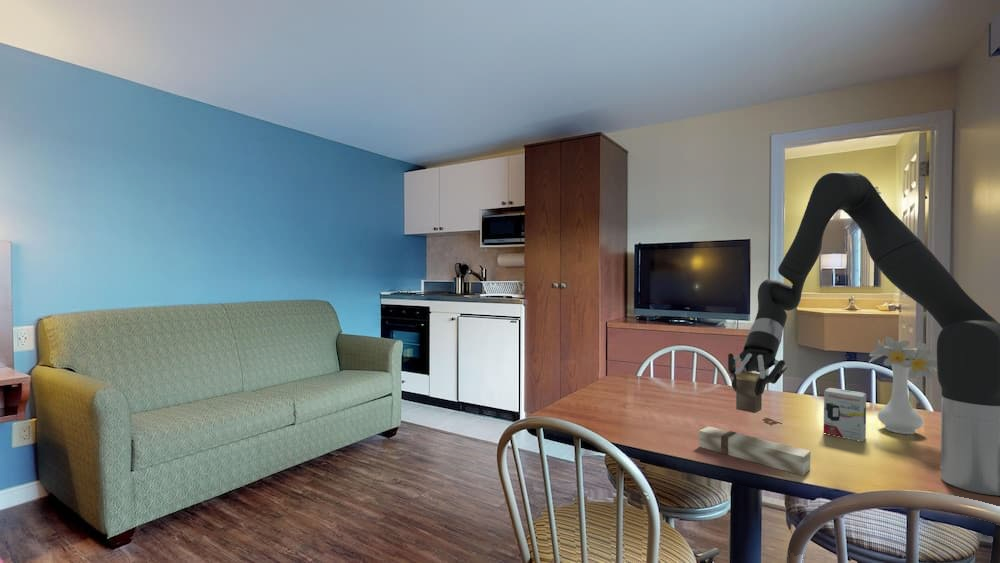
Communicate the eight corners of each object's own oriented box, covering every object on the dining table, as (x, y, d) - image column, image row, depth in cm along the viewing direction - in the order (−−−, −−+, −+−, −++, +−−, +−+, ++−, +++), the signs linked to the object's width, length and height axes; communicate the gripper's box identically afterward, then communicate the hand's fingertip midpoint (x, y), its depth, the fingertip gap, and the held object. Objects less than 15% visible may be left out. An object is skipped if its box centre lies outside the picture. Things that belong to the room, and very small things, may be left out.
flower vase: (904, 443, 114) (905, 344, 114) (854, 420, 133) (855, 335, 132) (960, 445, 113) (961, 345, 113) (902, 421, 131) (902, 335, 131)
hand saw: (713, 404, 151) (713, 402, 151) (725, 403, 152) (725, 401, 152) (770, 427, 128) (770, 424, 128) (784, 426, 129) (784, 423, 129)
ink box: (822, 434, 121) (822, 390, 121) (826, 429, 124) (826, 387, 124) (863, 442, 115) (863, 396, 115) (866, 437, 118) (866, 392, 118)
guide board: (810, 469, 98) (810, 450, 98) (803, 476, 95) (803, 456, 95) (708, 441, 115) (708, 425, 115) (699, 446, 111) (699, 430, 111)
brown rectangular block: (761, 409, 114) (761, 374, 114) (755, 413, 111) (755, 376, 111) (742, 405, 118) (743, 371, 118) (736, 409, 115) (736, 373, 115)
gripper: (732, 327, 125) (712, 377, 117) (791, 332, 114) (774, 388, 106) (739, 344, 128) (721, 394, 120) (797, 351, 118) (781, 406, 110)
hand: (746, 391), depth 113 cm, fingers closed on brown rectangular block, 4 cm apart
